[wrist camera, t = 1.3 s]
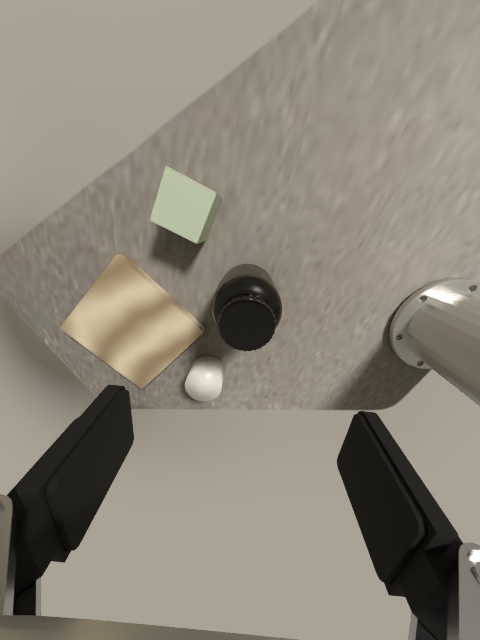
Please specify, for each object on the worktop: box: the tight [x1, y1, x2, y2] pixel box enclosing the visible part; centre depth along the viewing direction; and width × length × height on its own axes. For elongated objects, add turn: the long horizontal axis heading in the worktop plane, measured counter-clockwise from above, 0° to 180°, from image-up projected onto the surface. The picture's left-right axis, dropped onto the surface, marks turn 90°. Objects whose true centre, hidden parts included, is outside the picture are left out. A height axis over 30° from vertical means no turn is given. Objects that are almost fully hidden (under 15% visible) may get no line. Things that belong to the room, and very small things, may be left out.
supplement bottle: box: [212, 264, 282, 351], centre depth 24 cm, size 7×7×12 cm
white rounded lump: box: [185, 356, 224, 402], centre depth 33 cm, size 5×5×4 cm
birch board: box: [60, 253, 205, 389], centre depth 32 cm, size 14×14×2 cm
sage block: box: [150, 166, 223, 244], centre depth 24 cm, size 5×5×5 cm
